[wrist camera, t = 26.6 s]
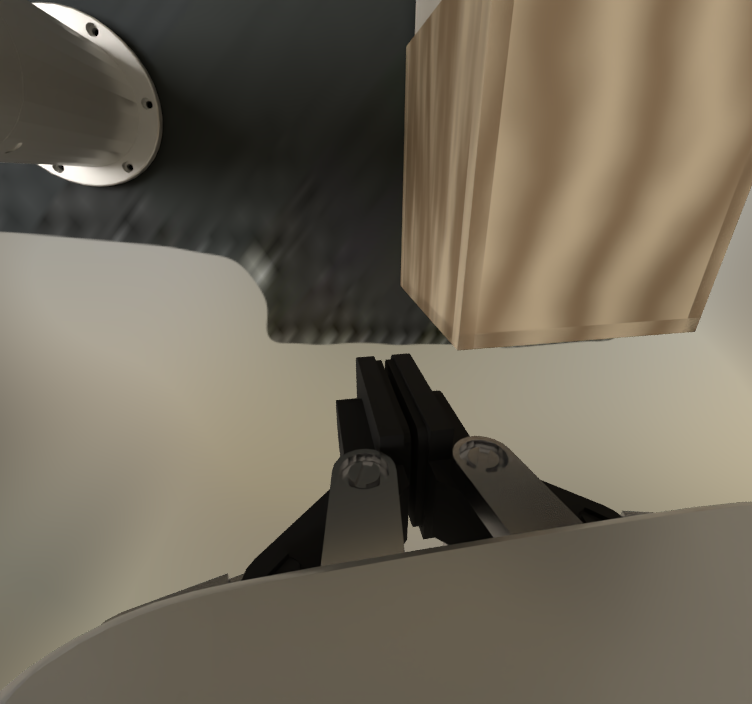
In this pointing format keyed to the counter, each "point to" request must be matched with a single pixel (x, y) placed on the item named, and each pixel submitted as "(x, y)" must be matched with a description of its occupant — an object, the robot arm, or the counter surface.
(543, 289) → the cabinet
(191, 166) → the counter surface
